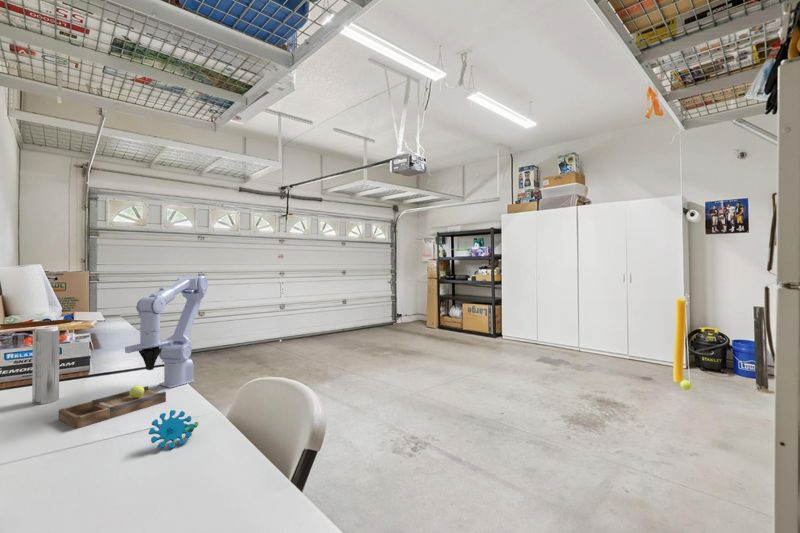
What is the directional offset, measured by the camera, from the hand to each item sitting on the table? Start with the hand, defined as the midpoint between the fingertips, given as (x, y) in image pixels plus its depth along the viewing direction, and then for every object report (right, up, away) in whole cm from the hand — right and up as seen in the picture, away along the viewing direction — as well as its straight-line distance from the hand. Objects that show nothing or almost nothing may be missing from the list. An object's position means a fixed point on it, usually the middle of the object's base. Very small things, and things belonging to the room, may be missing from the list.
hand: (149, 369), depth 128 cm
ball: (+1, -5, -7) cm, 9 cm away
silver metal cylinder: (-32, -9, -5) cm, 33 cm away
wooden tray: (-2, -9, -12) cm, 16 cm away
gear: (+29, -10, -33) cm, 45 cm away
